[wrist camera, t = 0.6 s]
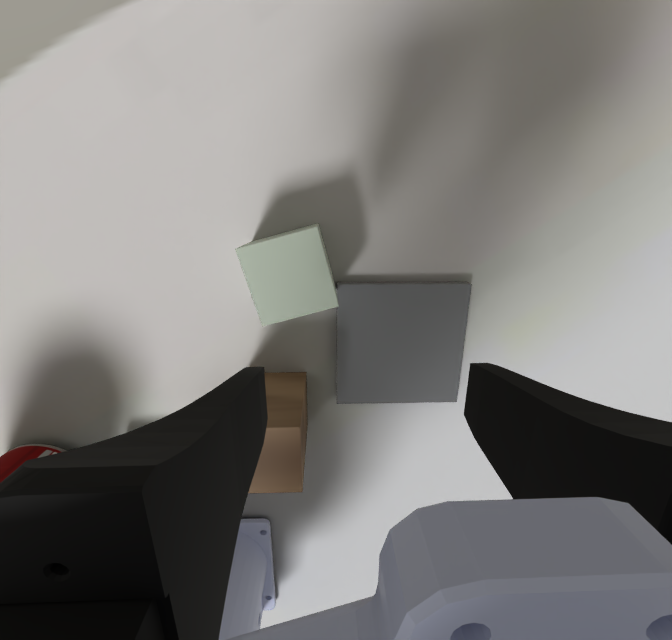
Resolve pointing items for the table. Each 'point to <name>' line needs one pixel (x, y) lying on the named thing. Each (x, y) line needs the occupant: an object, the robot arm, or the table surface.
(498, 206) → the table surface
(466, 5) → the table surface
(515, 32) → the table surface
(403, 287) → the slate coaster
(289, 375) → the walnut block
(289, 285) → the sage block
